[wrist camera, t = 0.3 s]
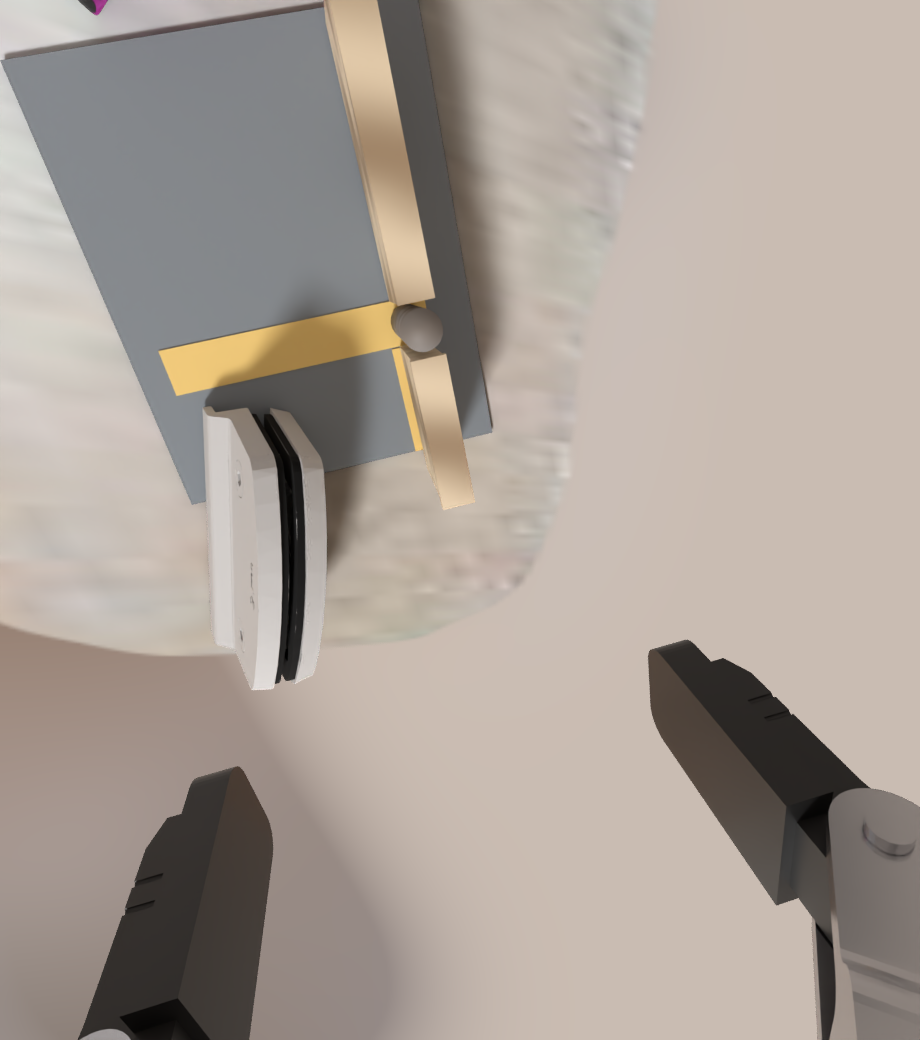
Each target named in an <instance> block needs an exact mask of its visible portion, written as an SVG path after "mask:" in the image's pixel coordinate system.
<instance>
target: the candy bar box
mask: <svg viewBox="0 0 920 1040" xmlns="http://www.w3.org/2000/svg"><path fill="white" fill-rule="evenodd" d="M78 1H80V2H81V4H83V5H84V6H85V7H86V8H87V9H88V10H89V11H90V12H92V13H93V14H95V15H98V14H99V13H100V12H101V10H102V9H103V7H104V5H105V4H106V2H107V1H108V0H78Z"/></svg>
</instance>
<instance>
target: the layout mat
mask: <svg viewBox="0 0 920 1040" xmlns="http://www.w3.org/2000/svg"><path fill="white" fill-rule="evenodd" d="M377 2H378V8H379V13H380V18H381V23H382V28H383V33H384V38H385V43H386V49H387V54H388V59H389V64H390V69H391V74H392V79H393V84H394V89H395V95H396V100H397V105H398V110H399V115H400V120H401V125H402V130H403V136H404V141H405V146H406V151H407V156H408V161H409V166H410V171H411V176H412V182H413V187H414V192H415V197H416V202H417V207H418V212H419V217H420V223H421V228H422V233H423V238H424V243H425V248H426V253H427V258H428V263H429V269H430V274H431V279H432V284H433V289H434V294H435V298H432V299H428V300H423V301H419V302H414V303H409V304H412V305H415V306H419V307H422V308H426V309H429V310H431V311H433V312H434V313H436V314H437V316H438V317H439V318H440V320H441V322H442V326H443V335H442V338H441V341H440V343H439V344H438V345H437V346H436V347H435V348H436V349H437V350H439V351H440V352H441V353H445V354H446V356H447V361H448V366H449V371H450V376H451V381H452V386H453V391H454V397H455V402H456V407H457V412H458V417H459V422H460V427H461V432H462V437H463V439H467V438H471V437H475V436H480V435H484V434H488V433H492V428H491V422H490V416H489V411H488V405H487V399H486V393H485V387H484V381H483V376H482V370H481V364H480V358H479V352H478V346H477V341H476V335H475V329H474V323H473V317H472V311H471V306H470V300H469V294H468V288H467V282H466V276H465V271H464V265H463V259H462V253H461V247H460V241H459V235H458V230H457V224H456V218H455V212H454V206H453V200H452V195H451V189H450V183H449V177H448V171H447V165H446V160H445V154H444V148H443V142H442V136H441V130H440V125H439V119H438V113H437V107H436V101H435V95H434V90H433V84H432V78H431V72H430V66H429V60H428V55H427V49H426V43H425V37H424V31H423V25H422V19H421V14H420V8H419V2H418V0H377ZM0 61H1V63H2V65H3V68H4V70H5V72H6V75H7V77H8V79H9V82H10V84H11V86H12V89H13V91H14V93H15V96H16V98H17V100H18V103H19V105H20V107H21V109H22V112H23V114H24V116H25V119H26V121H27V123H28V126H29V128H30V130H31V133H32V135H33V137H34V140H35V142H36V144H37V147H38V149H39V151H40V154H41V156H42V158H43V160H44V163H45V165H46V167H47V170H48V172H49V174H50V177H51V179H52V181H53V184H54V186H55V188H56V191H57V193H58V195H59V198H60V200H61V202H62V205H63V207H64V209H65V211H66V214H67V216H68V218H69V221H70V223H71V225H72V228H73V230H74V232H75V235H76V237H77V239H78V242H79V244H80V246H81V249H82V251H83V253H84V256H85V258H86V260H87V262H88V265H89V267H90V269H91V272H92V274H93V276H94V279H95V281H96V283H97V286H98V288H99V290H100V293H101V295H102V297H103V300H104V302H105V304H106V307H107V309H108V311H109V313H110V316H111V318H112V320H113V323H114V325H115V327H116V330H117V332H118V334H119V337H120V339H121V341H122V344H123V346H124V348H125V351H126V353H127V355H128V357H129V360H130V362H131V364H132V367H133V369H134V371H135V374H136V376H137V378H138V381H139V383H140V385H141V388H142V390H143V392H144V395H145V397H146V399H147V402H148V404H149V406H150V408H151V411H152V413H153V415H154V418H155V420H156V422H157V425H158V427H159V429H160V432H161V434H162V436H163V439H164V441H165V443H166V446H167V448H168V450H169V453H170V455H171V457H172V459H173V462H174V464H175V466H176V469H177V471H178V473H179V476H180V478H181V480H182V483H183V485H184V487H185V490H186V492H187V494H188V497H189V499H190V501H191V504H192V505H193V504H197V503H201V502H205V501H206V485H205V460H204V434H203V408H202V407H208V406H211V407H212V408H213V410H214V411H215V412H222V411H228V410H235V409H241V408H248V409H249V411H250V413H251V414H256V415H257V416H258V418H259V420H260V422H261V423H262V425H263V427H264V414H270V408H273V409H277V410H282V411H286V412H290V413H291V415H292V416H293V418H294V419H295V421H296V422H297V424H298V425H299V426H300V428H301V429H302V431H303V432H304V434H305V435H306V437H307V438H308V440H309V441H310V442H311V444H312V445H313V447H314V448H315V450H316V451H317V453H318V454H319V456H320V457H321V460H322V464H323V469H324V473H326V472H330V471H334V470H338V469H343V468H347V467H351V466H355V465H359V464H363V463H367V462H372V461H376V460H380V459H384V458H388V457H392V456H397V455H401V454H405V453H409V452H413V451H419V450H423V447H422V442H421V438H420V434H419V429H418V425H417V421H416V416H415V412H414V407H413V403H412V399H411V394H410V390H409V386H408V381H407V377H406V372H405V368H404V364H403V359H402V355H401V351H400V346H404V345H407V344H406V343H405V342H404V341H403V340H402V339H401V338H400V337H399V336H398V335H397V334H396V333H395V332H394V331H393V329H392V326H391V315H392V313H393V311H394V310H395V309H396V308H397V307H398V306H397V304H394V303H392V302H389V298H388V294H387V289H386V285H385V281H384V276H383V272H382V267H381V263H380V259H379V254H378V250H377V246H376V241H375V237H374V232H373V228H372V224H371V219H370V215H369V211H368V206H367V202H366V197H365V193H364V189H363V184H362V180H361V176H360V171H359V167H358V162H357V158H356V154H355V149H354V145H353V141H352V136H351V132H350V128H349V123H348V119H347V114H346V110H345V106H344V101H343V97H342V93H341V88H340V84H339V79H338V75H337V71H336V66H335V62H334V58H333V53H332V49H331V44H330V40H329V36H328V31H327V27H326V21H325V10H324V7H322V8H316V9H310V10H304V11H298V12H292V13H286V14H280V15H273V16H267V17H261V18H255V19H249V20H243V21H237V22H231V23H225V24H219V25H213V26H207V27H200V28H194V29H188V30H182V31H176V32H170V33H164V34H158V35H152V36H146V37H140V38H134V39H127V40H121V41H115V42H109V43H103V44H97V45H91V46H85V47H79V48H73V49H67V50H61V51H54V52H48V53H42V54H36V55H30V56H24V57H18V58H12V59H6V60H0Z"/></svg>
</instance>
